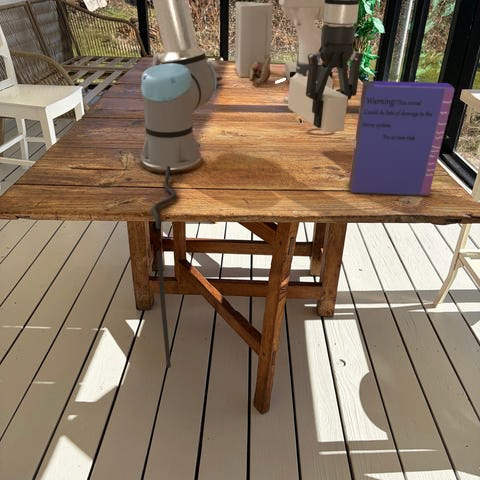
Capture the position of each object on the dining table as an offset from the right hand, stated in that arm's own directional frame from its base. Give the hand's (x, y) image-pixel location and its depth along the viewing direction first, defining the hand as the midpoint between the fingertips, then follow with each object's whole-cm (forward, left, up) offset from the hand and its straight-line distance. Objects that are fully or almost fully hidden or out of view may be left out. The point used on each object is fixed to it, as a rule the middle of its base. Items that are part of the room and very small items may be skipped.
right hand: (312, 25), depth 136 cm
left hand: (+30, +7, -19) cm, 36 cm away
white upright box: (-74, -29, -29) cm, 84 cm away
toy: (-75, -61, -29) cm, 101 cm away
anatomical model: (-53, -23, -29) cm, 65 cm away
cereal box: (+44, +23, -29) cm, 58 cm away
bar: (+23, +4, -20) cm, 31 cm away
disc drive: (-67, -4, -29) cm, 73 cm away
